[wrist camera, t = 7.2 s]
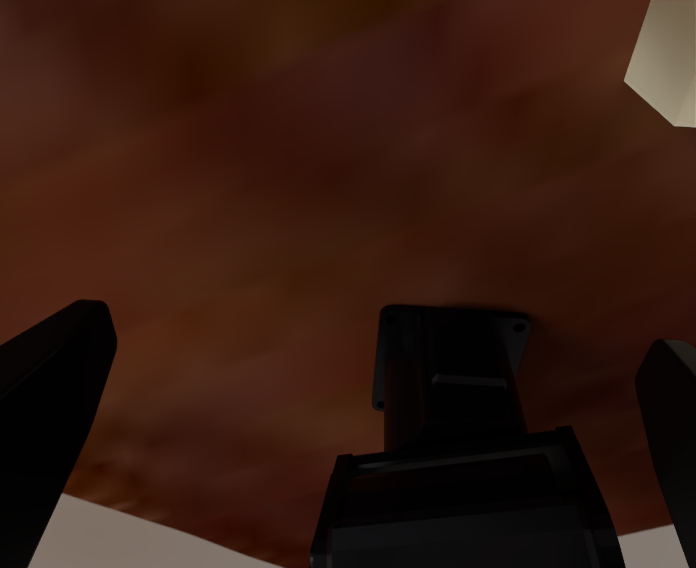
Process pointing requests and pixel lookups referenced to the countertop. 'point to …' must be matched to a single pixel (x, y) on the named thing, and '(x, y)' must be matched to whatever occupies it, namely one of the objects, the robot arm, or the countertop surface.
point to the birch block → (667, 60)
